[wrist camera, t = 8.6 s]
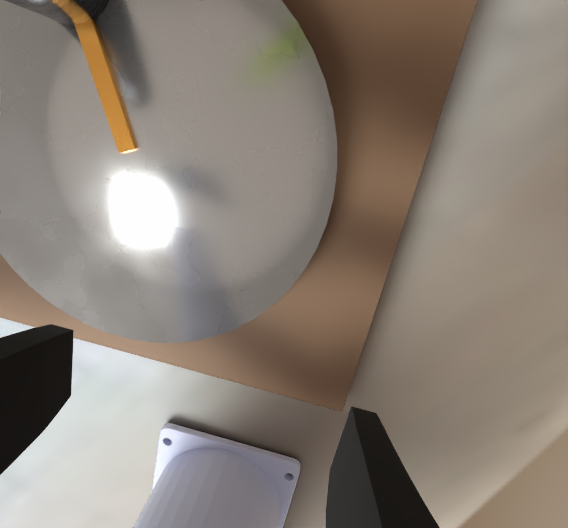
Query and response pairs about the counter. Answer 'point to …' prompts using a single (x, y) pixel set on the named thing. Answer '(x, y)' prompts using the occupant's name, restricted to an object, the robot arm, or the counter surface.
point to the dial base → (344, 211)
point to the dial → (161, 160)
